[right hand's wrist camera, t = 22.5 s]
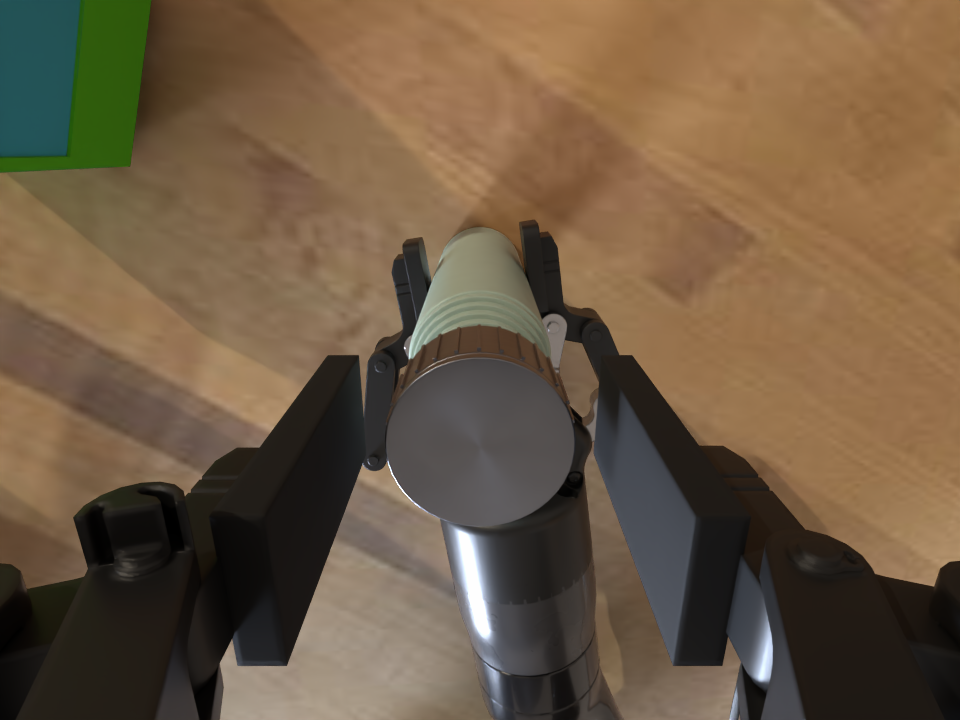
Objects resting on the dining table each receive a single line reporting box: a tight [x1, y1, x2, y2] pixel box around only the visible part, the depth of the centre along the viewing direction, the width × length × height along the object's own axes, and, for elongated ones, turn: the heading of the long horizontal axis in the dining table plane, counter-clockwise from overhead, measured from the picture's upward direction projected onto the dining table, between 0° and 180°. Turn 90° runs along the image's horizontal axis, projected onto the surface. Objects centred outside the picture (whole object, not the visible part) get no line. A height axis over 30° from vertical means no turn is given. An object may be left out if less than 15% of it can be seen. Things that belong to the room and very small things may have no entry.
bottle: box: [409, 227, 551, 359], centre depth 22 cm, size 4×4×19 cm
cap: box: [385, 324, 576, 526], centre depth 13 cm, size 4×4×2 cm
